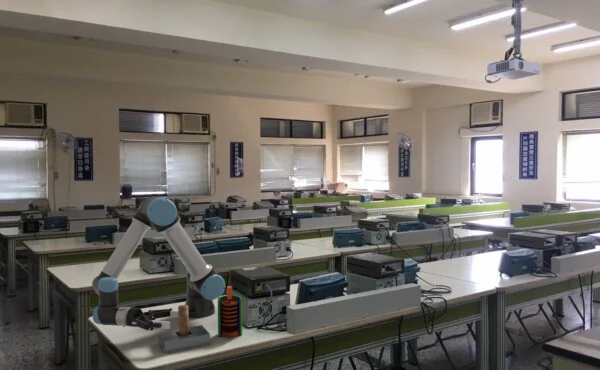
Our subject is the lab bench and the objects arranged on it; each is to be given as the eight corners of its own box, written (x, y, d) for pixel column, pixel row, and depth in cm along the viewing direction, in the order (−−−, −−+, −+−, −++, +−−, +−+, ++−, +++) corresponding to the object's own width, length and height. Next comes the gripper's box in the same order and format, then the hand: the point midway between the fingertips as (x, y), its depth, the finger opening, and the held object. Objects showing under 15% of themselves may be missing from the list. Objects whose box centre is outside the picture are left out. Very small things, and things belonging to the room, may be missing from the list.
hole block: (201, 335, 205) (201, 325, 204) (210, 345, 194) (210, 334, 194) (158, 343, 196) (158, 332, 196) (164, 353, 186) (164, 342, 186)
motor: (220, 339, 200) (219, 291, 199) (215, 332, 208) (215, 286, 208) (244, 336, 204) (243, 289, 203) (238, 329, 212) (238, 284, 211)
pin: (187, 340, 198) (186, 304, 197) (190, 343, 194) (189, 306, 194) (177, 342, 196) (177, 305, 195) (180, 345, 192) (179, 308, 192)
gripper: (146, 316, 212) (191, 319, 207) (112, 336, 187) (162, 340, 183) (145, 299, 211) (190, 302, 207) (112, 317, 187) (162, 320, 183)
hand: (177, 320), depth 195 cm, fingers open, 13 cm apart
